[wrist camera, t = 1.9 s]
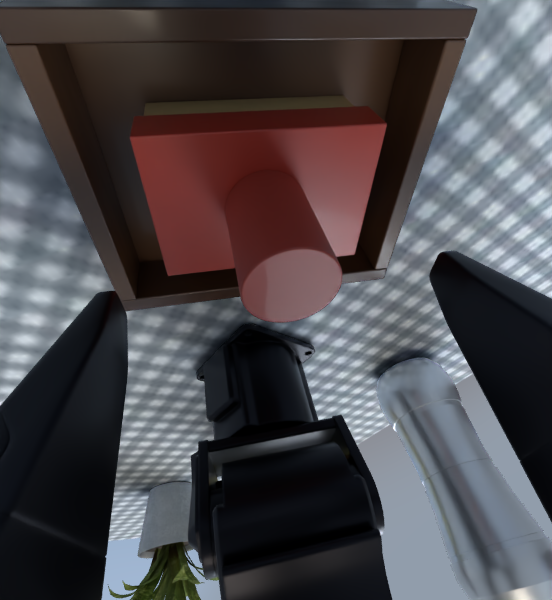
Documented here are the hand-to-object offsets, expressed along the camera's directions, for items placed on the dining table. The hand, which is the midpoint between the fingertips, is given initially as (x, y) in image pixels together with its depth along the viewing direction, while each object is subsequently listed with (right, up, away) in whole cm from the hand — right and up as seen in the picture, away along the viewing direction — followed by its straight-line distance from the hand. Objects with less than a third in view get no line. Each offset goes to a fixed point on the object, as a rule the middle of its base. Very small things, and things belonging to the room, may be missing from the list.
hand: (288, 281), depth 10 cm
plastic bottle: (+11, -7, +22) cm, 26 cm away
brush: (-1, +5, +5) cm, 7 cm away
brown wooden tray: (-2, +5, +5) cm, 8 cm away
